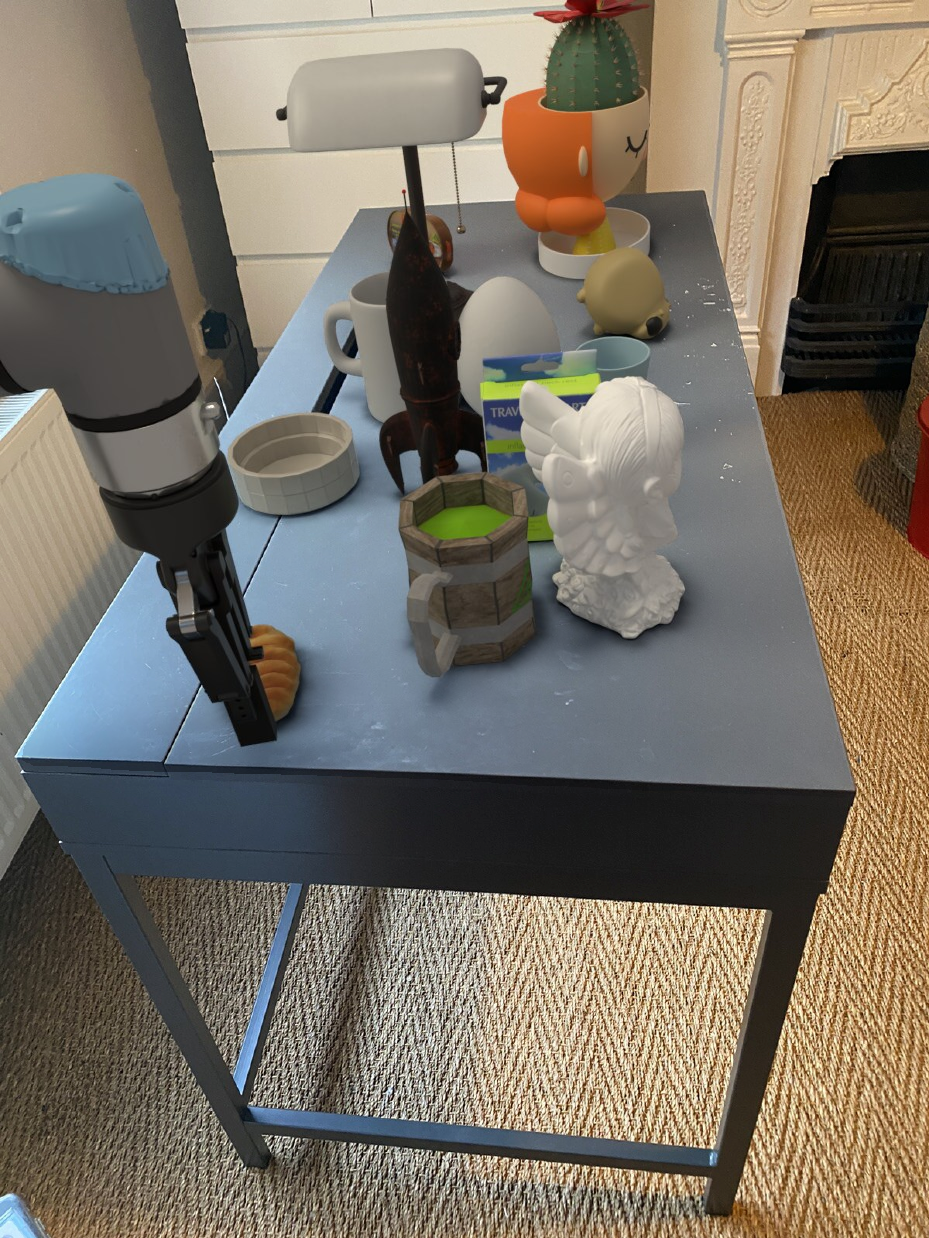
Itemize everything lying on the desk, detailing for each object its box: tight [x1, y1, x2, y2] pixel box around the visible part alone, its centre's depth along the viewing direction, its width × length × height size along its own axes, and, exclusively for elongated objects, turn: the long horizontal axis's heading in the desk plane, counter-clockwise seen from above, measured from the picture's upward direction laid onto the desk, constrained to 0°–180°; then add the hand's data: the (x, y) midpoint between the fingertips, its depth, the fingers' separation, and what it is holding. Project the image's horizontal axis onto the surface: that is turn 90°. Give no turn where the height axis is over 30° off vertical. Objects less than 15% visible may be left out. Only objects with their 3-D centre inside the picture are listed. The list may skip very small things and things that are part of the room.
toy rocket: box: [378, 188, 488, 497], centre depth 86 cm, size 9×9×30 cm
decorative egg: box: [457, 275, 562, 417], centre depth 105 cm, size 12×12×15 cm
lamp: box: [275, 47, 508, 321], centre depth 118 cm, size 26×24×34 cm
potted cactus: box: [501, 0, 652, 280], centre depth 133 cm, size 22×22×35 cm
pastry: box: [249, 623, 302, 722], centre depth 75 cm, size 9×7×4 cm
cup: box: [574, 336, 651, 383], centre depth 97 cm, size 8×8×10 cm
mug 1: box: [323, 269, 461, 424], centre depth 108 cm, size 16×11×14 cm
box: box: [480, 349, 601, 542], centre depth 84 cm, size 10×4×17 cm, turn 88°
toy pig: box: [575, 247, 672, 340], centre depth 119 cm, size 10×12×11 cm
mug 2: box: [397, 471, 537, 678], centre depth 75 cm, size 16×11×12 cm
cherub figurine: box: [519, 376, 686, 640], centre depth 74 cm, size 13×12×20 cm
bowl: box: [226, 412, 361, 516], centre depth 99 cm, size 13×13×5 cm
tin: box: [386, 207, 454, 273], centre depth 144 cm, size 15×3×8 cm, turn 37°
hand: (259, 736), depth 70 cm, fingers closed
